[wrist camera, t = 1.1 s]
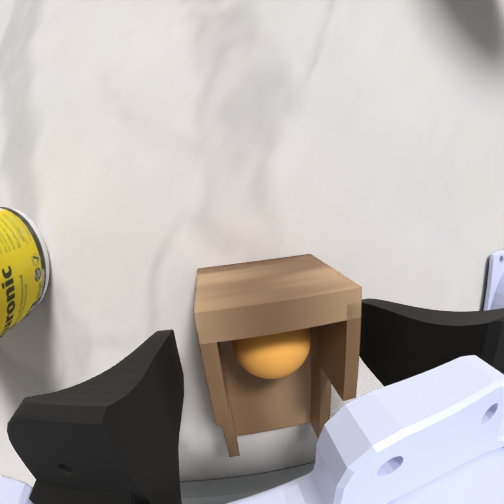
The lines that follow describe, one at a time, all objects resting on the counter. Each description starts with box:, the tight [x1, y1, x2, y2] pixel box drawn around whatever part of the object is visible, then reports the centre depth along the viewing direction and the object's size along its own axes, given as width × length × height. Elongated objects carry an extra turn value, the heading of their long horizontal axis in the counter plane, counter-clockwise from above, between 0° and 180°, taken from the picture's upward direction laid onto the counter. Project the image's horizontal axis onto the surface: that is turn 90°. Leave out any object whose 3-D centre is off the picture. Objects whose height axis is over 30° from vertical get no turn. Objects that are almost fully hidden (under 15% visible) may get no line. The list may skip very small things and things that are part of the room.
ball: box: [232, 328, 311, 379], centre depth 12 cm, size 3×3×3 cm
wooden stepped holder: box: [194, 254, 362, 457], centre depth 12 cm, size 5×9×5 cm, turn 6°
